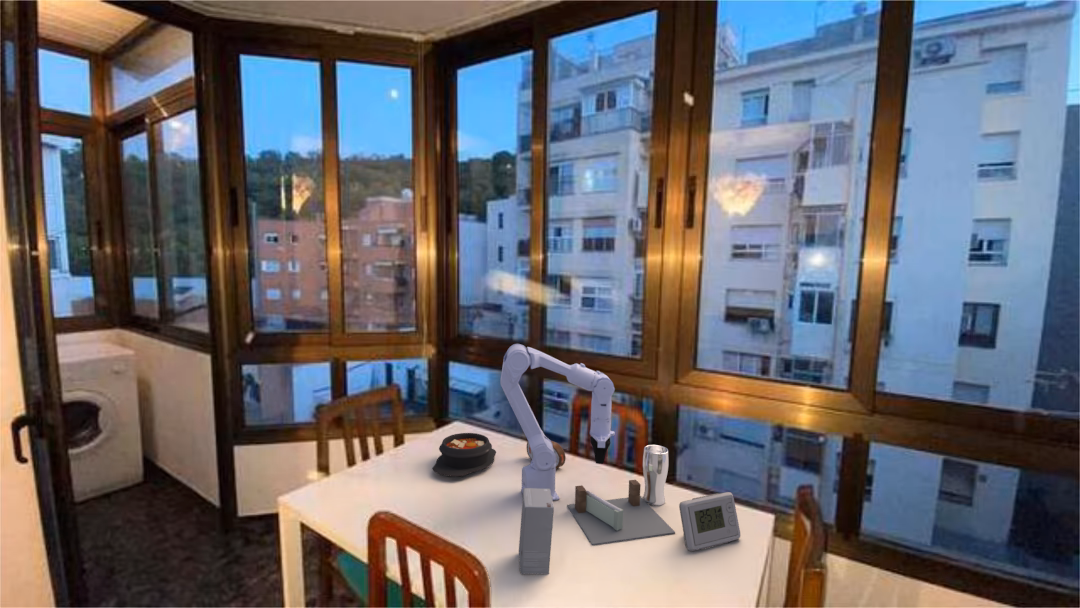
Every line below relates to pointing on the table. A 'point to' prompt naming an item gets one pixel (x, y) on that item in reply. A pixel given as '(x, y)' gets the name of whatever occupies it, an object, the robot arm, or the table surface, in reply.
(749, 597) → the table surface
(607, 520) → the gate
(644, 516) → the yard mat
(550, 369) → the robot arm
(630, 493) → the gate posts
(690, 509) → the digital clock
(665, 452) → the silver metal tumbler
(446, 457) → the casserole
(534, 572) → the skincare box
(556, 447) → the tin
